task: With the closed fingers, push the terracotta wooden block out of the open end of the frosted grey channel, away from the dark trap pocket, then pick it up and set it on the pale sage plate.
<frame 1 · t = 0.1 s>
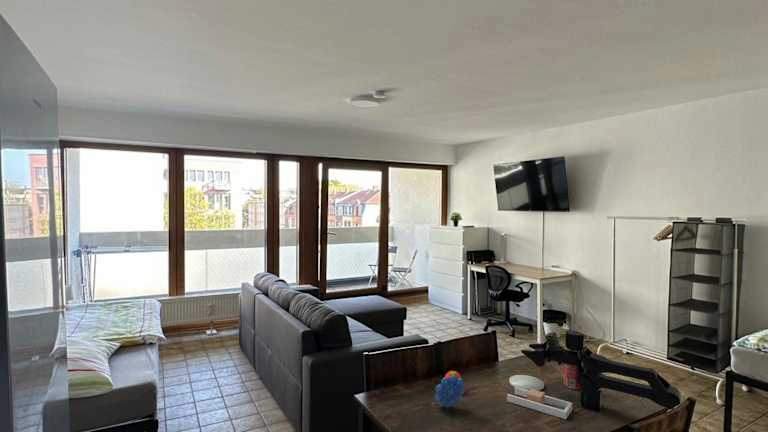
hand: (525, 348, 172), 17 cm above the table, tool horizontal, fingers open, 9 cm apart
channel: (538, 405, 157), on the table
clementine: (452, 389, 171), on the table
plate: (526, 384, 176), on the table
grapes: (449, 406, 156), on the table
soda can: (572, 387, 174), on the table
block: (535, 404, 158), on the table
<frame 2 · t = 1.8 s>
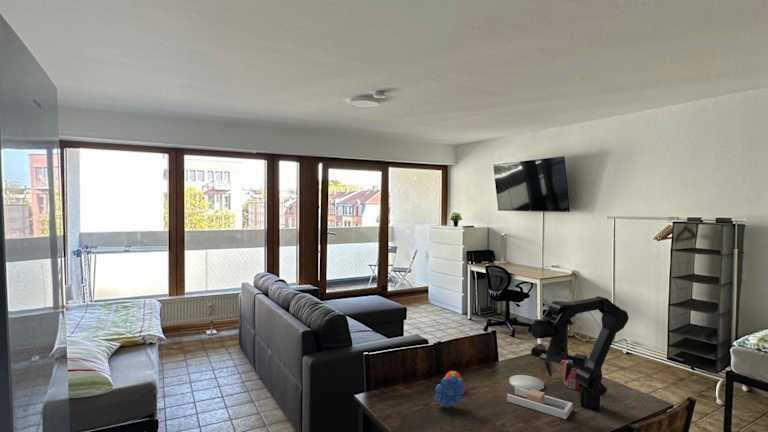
hand: (558, 378, 153), 12 cm above the table, tool pointing down, fingers open, 5 cm apart
nothing on the table moved.
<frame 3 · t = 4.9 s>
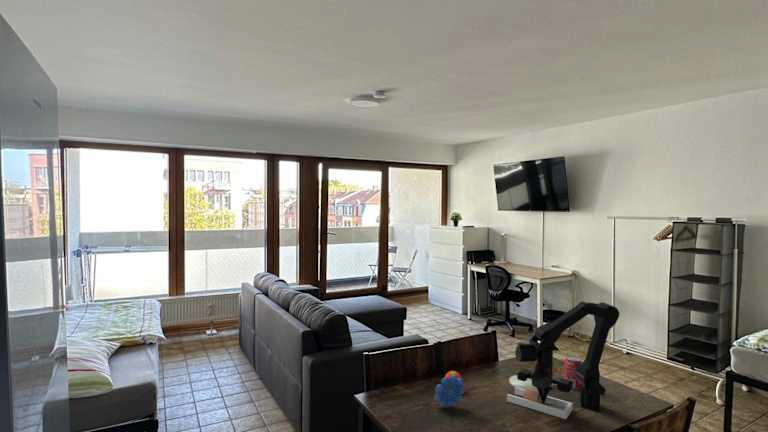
hand: (543, 402, 156), 2 cm above the table, tool pointing down, fingers closed
block: (532, 403, 159), on the table, touching gripper
everything else where it was.
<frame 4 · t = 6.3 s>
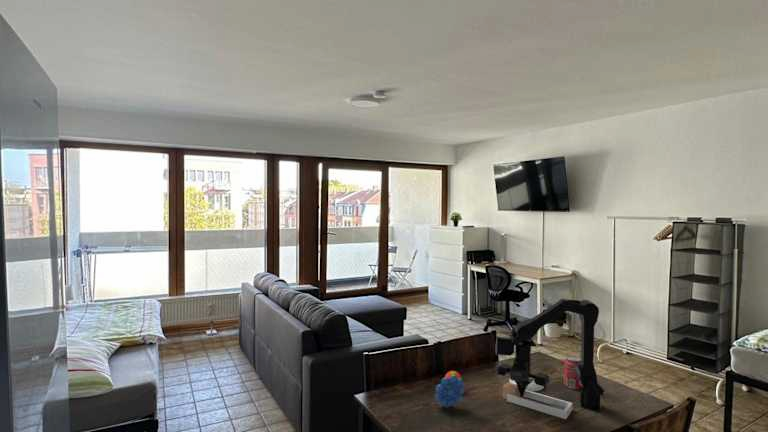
hand: (522, 396, 161), 2 cm above the table, tool pointing down, fingers closed
block: (511, 397, 164), on the table, touching gripper
everything else where it was.
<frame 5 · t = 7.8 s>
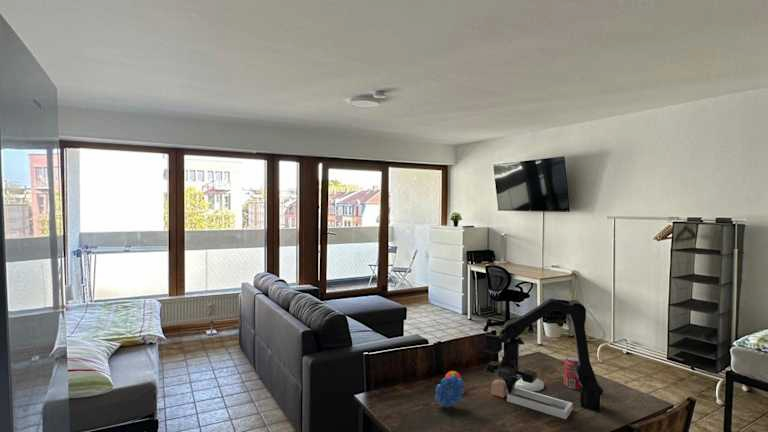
hand: (510, 392, 164), 2 cm above the table, tool pointing down, fingers closed
block: (499, 393, 167), on the table, touching gripper
everything else where it was.
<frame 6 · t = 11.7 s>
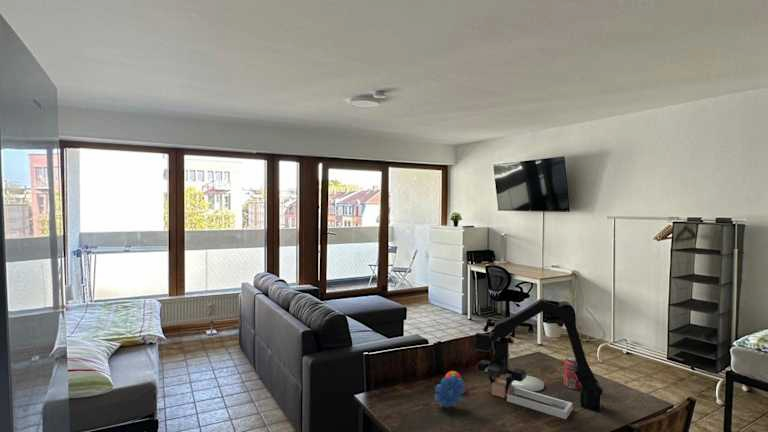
hand: (500, 391, 167), 1 cm above the table, tool pointing down, fingers closed on block, 5 cm apart
block: (500, 393, 167), on the table, touching gripper
everything else where it was.
when the fingers open (4 cm above the table, at t = 15.6 s): block drops 2 cm, resting on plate.
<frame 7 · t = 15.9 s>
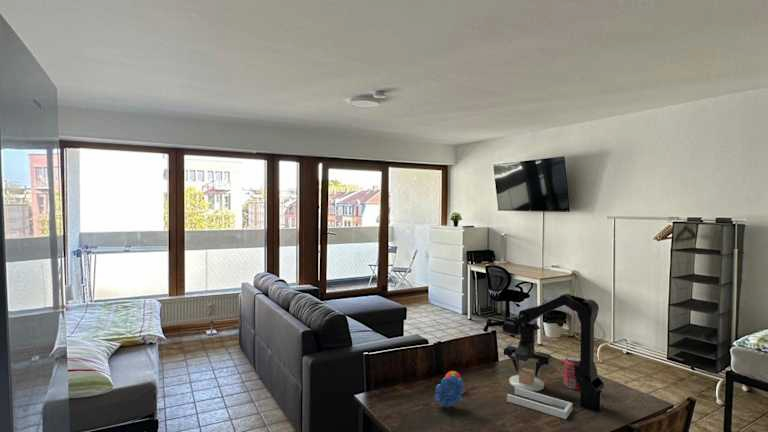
hand: (526, 374, 176), 4 cm above the table, tool pointing down, fingers open, 8 cm apart
block: (526, 381, 176), point 1 cm above the table, touching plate
everything else where it was.
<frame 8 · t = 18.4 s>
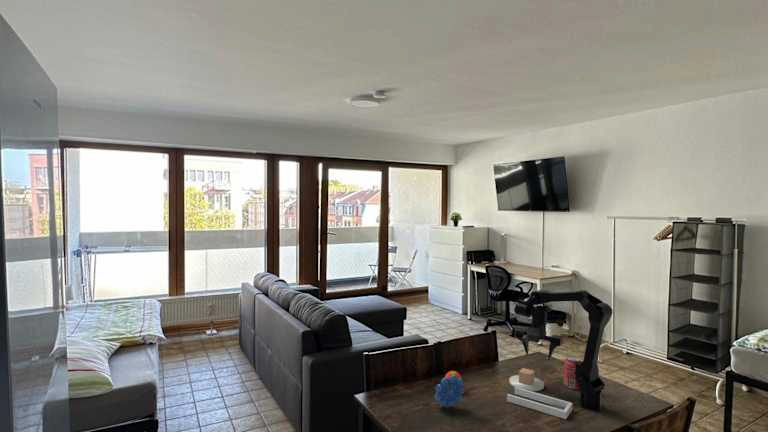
hand: (538, 356, 175), 12 cm above the table, tool pointing down, fingers open, 9 cm apart
nothing on the table moved.
at the end: block inside the target area on the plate (0.1 cm from its centre), point 1.0 cm above the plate's base; block tilted 0°; the gripper is holding nothing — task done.
